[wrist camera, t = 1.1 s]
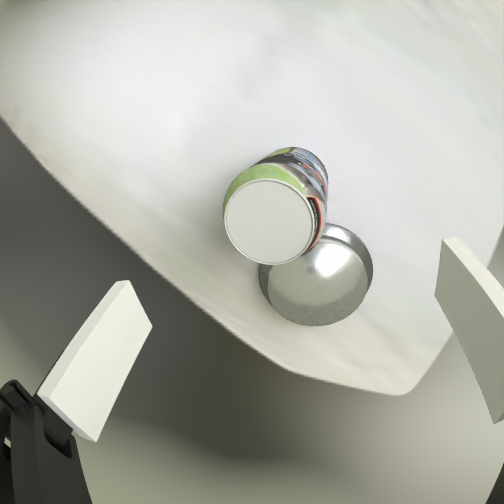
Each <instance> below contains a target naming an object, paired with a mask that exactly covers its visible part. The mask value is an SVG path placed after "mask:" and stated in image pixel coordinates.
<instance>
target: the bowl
mask: <svg viewBox="0 0 504 504" xmlns="http://www.w3.org/2000/svg"><path fill="white" fill-rule="evenodd" d="M372 277H373V264H372V260H371V257H370V254H369V252H368V250H367V248H366V246H365V245H364V243H363V242H362V241H361V240H360V238H359V237H357V236H356V235H355V234H354V233H352V232H351V231H349V230H347V229H345V228H343V227H341V226H338V225H334V224H329V223H325V228H324V231H323V233H322V236H321V238H320V239H319V241H318V243H317V244H316V245H315V246H314V248H313V249H312V250H311V251H309V252H308V253H307V254H306V255H304V256H302V257H300V258H298V259H296V260H293V261H290V262H288V263H284V264H279V265H266V264H261V266H260V273H259V279H260V285H261V289H262V291H263V293H264V295H265V297H266V299H267V300H268V301H269V303H270V304H271V305H272V306H273V307H274V308H275V309H276V310H277V311H278V313H279V314H281V315H282V316H283V317H285V318H286V319H288V320H290V321H292V322H294V323H297V324H301V325H306V326H324V325H329V324H333V323H335V322H338V321H340V320H342V319H344V318H346V317H347V316H349V315H350V314H352V313H353V312H354V311H355V310H356V309H357V308H358V307H359V305H360V304H361V303H362V301H363V299H364V297H365V295H366V293H367V291H368V289H369V287H370V284H371V281H372Z"/></svg>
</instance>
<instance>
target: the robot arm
mask: <svg viewBox="0 0 504 504" xmlns="http://www.w3.org/2000/svg"><path fill="white" fill-rule="evenodd" d="M434 296H435V298H436V299H437V301H438V303H439V305H440V306H441V308H442V310H443V312H444V314H445V315H446V317H447V319H448V321H449V323H450V325H451V327H452V328H453V330H454V332H455V334H456V336H457V338H458V340H459V342H460V344H461V346H462V348H463V350H464V352H465V354H466V357H467V359H468V361H469V363H470V365H471V368H472V370H473V372H474V374H475V377H476V379H477V381H478V384H479V386H480V388H481V391H482V394H483V396H484V399H485V401H486V404H487V407H488V409H489V412H490V415H491V418H492V421H493V423H494V424H495V423H497V422H499V421H502V420H503V419H504V289H503V288H502V286H501V285H500V284H499V283H498V281H497V280H496V279H495V278H494V277H493V275H492V274H491V273H490V272H489V271H488V270H487V268H486V267H485V266H484V265H483V264H482V263H481V262H480V260H479V259H478V258H477V257H476V256H475V255H474V254H473V253H472V252H471V251H470V250H469V248H468V247H467V246H466V245H465V244H464V243H463V242H462V241H461V240H460V239H459V238H458V237H453V238H446V239H442V244H441V254H440V262H439V270H438V277H437V283H436V289H435V295H434ZM151 328H152V325H151V323H150V321H149V319H148V317H147V315H146V313H145V311H144V309H143V308H142V306H141V304H140V302H139V300H138V298H137V296H136V293H135V291H134V289H133V287H132V285H131V283H130V281H129V280H125V281H117V282H116V283H115V284H114V285H113V286H112V288H111V289H110V290H109V291H108V293H107V294H106V295H105V296H104V298H103V299H102V300H101V302H100V303H99V304H98V306H97V307H96V308H95V310H94V311H93V312H92V314H91V315H90V316H89V318H88V319H87V320H86V321H85V323H84V324H83V326H82V327H81V328H80V330H79V331H78V332H77V334H76V335H75V337H74V338H73V340H72V341H71V342H70V344H69V345H68V347H67V348H66V349H65V350H64V351H63V352H62V353H61V354H60V356H59V357H58V359H57V360H56V361H57V362H55V363H54V365H53V366H52V370H50V371H49V372H48V374H47V375H46V377H45V378H44V380H43V382H42V383H41V385H40V386H39V388H38V389H37V391H36V393H35V394H34V396H33V397H31V395H30V394H29V393H28V392H27V391H26V390H25V389H24V387H23V386H22V385H21V384H20V383H19V382H18V381H17V380H11V381H8V382H7V383H6V384H5V385H4V386H3V387H2V388H1V389H0V504H92V501H91V498H90V495H89V492H88V489H87V485H86V481H85V478H84V474H83V470H82V467H81V463H80V458H79V454H78V449H77V445H76V440H75V438H74V436H73V435H71V433H72V431H73V430H74V431H75V432H77V433H78V434H79V435H80V436H81V437H82V438H86V439H88V440H91V441H94V442H96V441H97V440H98V437H99V435H100V433H101V430H102V428H103V426H104V424H105V422H106V419H107V417H108V415H109V413H110V411H111V409H112V407H113V404H114V402H115V400H116V398H117V396H118V394H119V392H120V390H121V388H122V386H123V384H124V381H125V379H126V377H127V375H128V373H129V371H130V369H131V367H132V365H133V363H134V361H135V359H136V357H137V355H138V353H139V351H140V350H141V347H142V346H143V343H144V342H145V340H146V338H147V336H148V334H149V332H150V330H151ZM5 437H6V438H7V439H8V440H9V441H11V448H10V447H9V446H7V445H6V444H5V443H4V441H5ZM486 504H504V464H503V466H502V469H501V472H500V474H499V476H498V478H497V481H496V483H495V485H494V487H493V489H492V491H491V494H490V496H489V498H488V500H487V502H486Z"/></svg>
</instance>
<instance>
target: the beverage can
mask: <svg viewBox="0 0 504 504" xmlns="http://www.w3.org/2000/svg"><path fill="white" fill-rule="evenodd" d="M327 196H328V176H327V172H326V169H325V167H324V165H323V164H322V162H321V161H320V160H319V159H318V158H317V157H316V156H315V155H314V154H313V153H311V152H309V151H307V150H305V149H302V148H297V147H287V148H283V149H280V150H277V151H275V152H274V153H272V154H270V155H269V156H267V157H266V158H264V159H262V160H261V161H259V162H258V163H256V164H254V165H253V166H251V167H250V168H248V169H247V170H245V171H244V172H242V173H241V174H240V175H238V176H237V178H236V179H235V180H234V181H233V182H232V183H231V185H230V187H229V188H228V190H227V193H226V195H225V199H224V204H223V217H224V223H225V229H226V232H227V235H228V237H229V239H230V241H231V243H232V244H233V245H234V247H235V248H236V249H237V250H238V251H239V252H240V253H241V254H243V255H244V256H245V257H247V258H249V259H251V260H252V261H255V262H258V263H261V264H266V265H279V264H284V263H288V262H290V261H293V260H296V259H298V258H300V257H302V256H304V255H306V254H307V253H308V252H309V251H311V250H312V249H313V248H314V246H315V245H316V244H317V243H318V241H319V239H320V238H321V236H322V233H323V231H324V228H325V222H326V212H327Z"/></svg>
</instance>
